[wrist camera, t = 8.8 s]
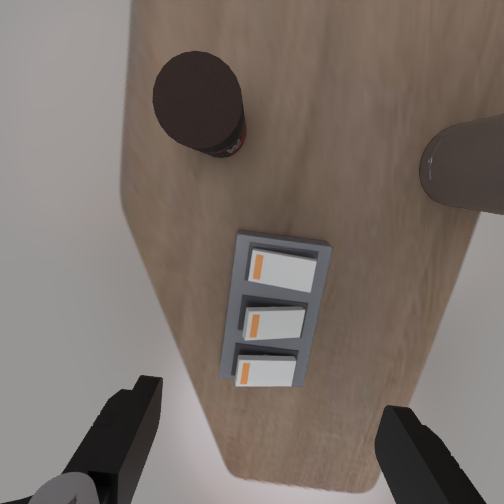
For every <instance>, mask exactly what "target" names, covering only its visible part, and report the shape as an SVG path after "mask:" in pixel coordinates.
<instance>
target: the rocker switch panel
mask: <svg viewBox="0 0 504 504" xmlns="http://www.w3.org/2000/svg"><path fill="white" fill-rule="evenodd" d="M254 248H256V249H262V250H267V251H273V252H279V253H284V254H290V255H296V256H301V257H307V258H312V259H316V260H317V263H316V268H315V273H314V278H313V283H312V288H311V292H310V293H309V292H304V291H298V290H293V289H288V288H283V287H278V286H273V285H267V284H262V283H257V282H252V281H248V278H249V272H250V265H251V258H252V251H253V249H254ZM331 252H332V246H331V245H330V244H329V243H328V242H327V241H320V240H312V239H305V238H298V237H291V236H283V235H276V234H269V233H261V232H254V231H247V230H240V229H238V233H237V240H236V248H235V256H234V264H233V271H232V279H231V287H230V294H229V302H228V310H227V318H226V325H225V333H224V341H223V348H222V356H221V364H220V372H219V378H226V379H235V375H236V368H237V361H238V355H260V356H263V355H264V354H267V355H269V356H294V357H295V359H296V366H295V371H294V376H293V381H292V386H293V387H302V388H303V384H304V379H305V375H306V370H307V365H308V361H309V356H310V351H311V346H312V342H313V337H314V332H315V328H316V323H317V318H318V313H319V309H320V304H321V299H322V295H323V290H324V285H325V280H326V276H327V271H328V266H329V262H330V257H331ZM271 306H275V307H295V306H299V307H302V308H304V309H305V314H304V319H303V324H302V329H301V334H300V337H298V338H281V339H264V340H247V341H245V340H244V338H243V336H242V334H243V328H244V321H245V314H246V307H271Z"/></svg>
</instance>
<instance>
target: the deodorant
mask: <svg viewBox="0 0 504 504" xmlns="http://www.w3.org/2000/svg"><path fill="white" fill-rule="evenodd" d="M153 106H154V111H155V115H156V117H157V119H158V121H159V123H160V125H161V127H162V128H163V129H164V131H165V132H166V133H167V134H168V135H169V136H170V137H171V138H172V139H174V140H175V141H176V142H178V143H180V144H182V145H185V146H187V147H190V148H192V149H195V150H197V151H200V152H203V153H205V154H208V155H211V156H213V157H219V158H222V157H228V156H231V155H233V154H234V153H236V152H237V151H238V150H239V149H240V148H241V146H242V145H243V143H244V140H245V137H246V124H245V117H244V110H243V102H242V95H241V88H240V86H239V83H238V81H237V78H236V76H235V75H234V73H233V72H232V70H231V69H230V67H229V66H228V65H227V64H226V63H224V62H223V61H222V60H221V59H220V58H218V57H216V56H214V55H212V54H209V53H207V52H200V51H191V52H185V53H182V54H180V55H177V56H175V57H173V58H172V59H171V60H170V61H169V62H167V63H166V64H165V65H164V66H163V68H162V69H161V71H160V72H159V74H158V76H157V78H156V81H155V85H154V88H153Z"/></svg>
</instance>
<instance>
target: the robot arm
mask: <svg viewBox="0 0 504 504" xmlns="http://www.w3.org/2000/svg"><path fill="white" fill-rule="evenodd" d="M420 179H421V183H422V186H423V188H424V190H425V192H426V193H427V194H428V195H429V196H430V197H431V198H432V199H434V200H435V201H437V202H439V203H442V204H444V205H450V206H456V207H461V208H466V209H471V210H477V211H483V212H488V213H494V214H500V215H504V114H502V115H497V116H493V117H488V118H483V119H479V120H475V121H470V122H466V123H461V124H457V125H454V126H451V127H449V128H447V129H445V130H443V131H442V132H440V133H439V134H438V135H437V136H435V137H434V139H433V140H432V141H431V142H430V143H429V144H428V146H427V148H426V149H425V151H424V154H423V156H422V159H421V164H420ZM162 387H163V378H161V377H153V376H144V375H141V376H140V377H139V379H138V381H137V382H136V384H135V386H134V388H133V390H126V389H121V390H120V391H119V392H117V393H116V394H115V395H113V396H112V397H111V398H110V399H108V401H107V403H106V404H105V406H104V407H103V409H102V410H101V413H100V415H98V417H97V419H96V420H95V422H94V423H93V426H91V428H90V430H89V431H88V433H87V434H86V436H85V438H84V439H83V441H82V442H81V444H80V446H79V447H78V449H77V450H76V452H75V453H74V455H73V457H72V458H71V460H70V462H69V463H68V465H67V466H66V468H65V469H64V471H63V472H62V474H61V475H59V476H57V477H55V478H53V479H51V480H49V481H48V482H46V483H45V484H44V485H42V486H41V487H40V488H39V489H38V490H37V492H36V493H35V494H34V495H32V496H30V497H27V498H23V499H20V500H15V501H11V502H6V503H1V504H131V501H132V498H133V495H134V493H135V490H136V487H137V484H138V481H139V479H140V476H141V473H142V470H143V468H144V465H145V462H146V460H147V457H148V454H149V452H150V449H151V446H152V443H153V441H154V438H155V435H156V432H157V429H158V425H159V420H160V412H161V399H162ZM375 454H376V458H377V460H378V463H379V465H380V467H381V470H382V472H383V474H384V477H385V479H386V481H387V484H388V486H389V488H390V490H391V493H392V495H393V497H394V499H395V502H396V504H486V502H485V501H484V500H483V498H482V497H481V495H480V494H479V493H478V491H477V490H476V488H475V487H474V485H473V484H472V483H471V481H470V480H469V478H468V477H467V476H466V474H465V473H464V471H463V470H462V469H460V467H459V464H458V463H457V461H456V460H455V459H454V457H453V456H451V453H450V451H449V450H448V449H447V447H446V446H445V444H444V443H443V441H442V440H441V439H440V438H439V437H438V436H437V435H436V434H435V433H434V432H433V431H431V430H430V429H429V428H428V427H427V426H426V425H422V424H421V423H420V421H419V420H418V418H417V417H416V415H415V414H414V412H413V411H412V410H411V409H410V408H408V407H400V406H391V405H387V406H386V407H385V408H384V411H383V414H382V418H381V421H380V424H379V428H378V431H377V435H376V438H375Z"/></svg>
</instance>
